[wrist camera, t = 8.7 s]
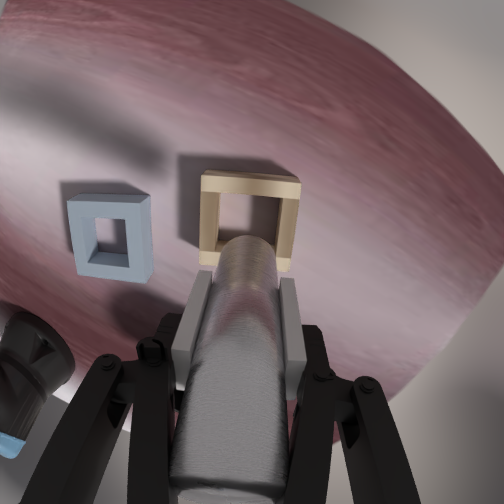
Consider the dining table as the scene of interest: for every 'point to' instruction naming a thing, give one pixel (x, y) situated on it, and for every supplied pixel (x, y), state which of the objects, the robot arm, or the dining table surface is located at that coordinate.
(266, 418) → the pin
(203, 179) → the block
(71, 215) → the socket block
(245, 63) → the dining table surface
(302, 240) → the dining table surface
